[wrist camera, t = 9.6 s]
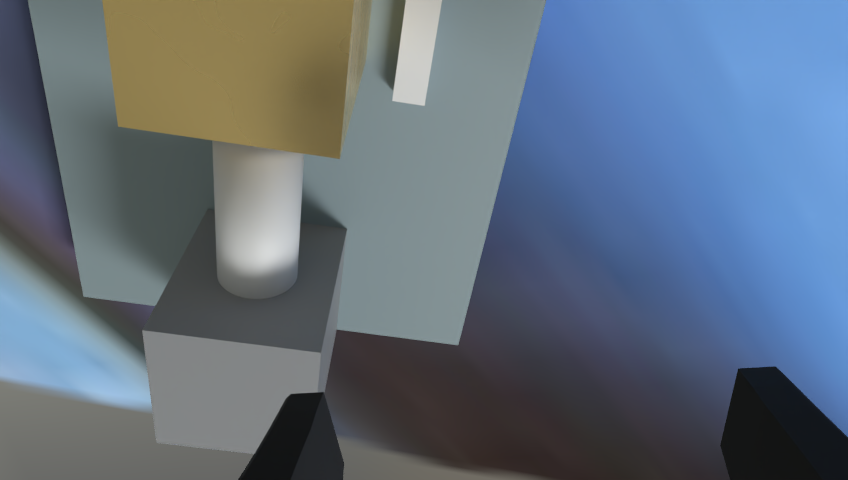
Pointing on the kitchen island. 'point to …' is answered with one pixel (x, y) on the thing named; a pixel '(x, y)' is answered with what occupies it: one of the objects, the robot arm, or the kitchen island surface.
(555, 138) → the kitchen island surface
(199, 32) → the block
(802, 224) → the kitchen island surface
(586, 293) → the kitchen island surface
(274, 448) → the robot arm
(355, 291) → the long grey base plate
